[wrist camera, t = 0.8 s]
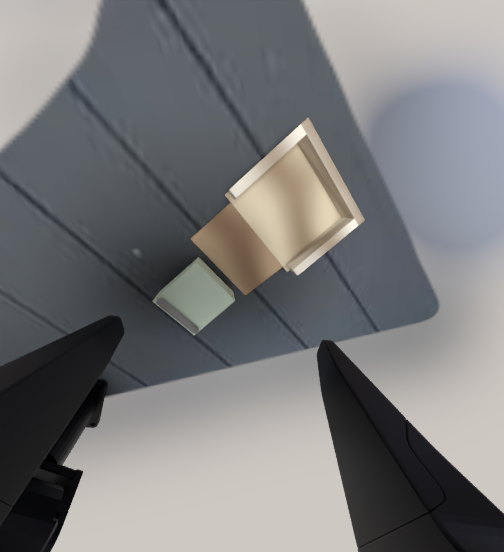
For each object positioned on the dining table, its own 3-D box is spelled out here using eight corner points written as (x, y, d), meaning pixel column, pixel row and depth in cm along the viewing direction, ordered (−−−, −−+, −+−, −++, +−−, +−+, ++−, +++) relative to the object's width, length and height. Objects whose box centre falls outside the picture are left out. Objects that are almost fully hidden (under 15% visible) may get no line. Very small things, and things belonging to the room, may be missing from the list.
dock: (249, 298, 22) (254, 311, 19) (184, 231, 18) (178, 235, 16) (344, 218, 21) (364, 220, 18) (293, 132, 17) (308, 117, 15)
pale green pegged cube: (197, 317, 21) (193, 339, 18) (162, 287, 19) (150, 304, 16) (232, 288, 21) (235, 303, 17) (199, 254, 19) (195, 264, 15)
